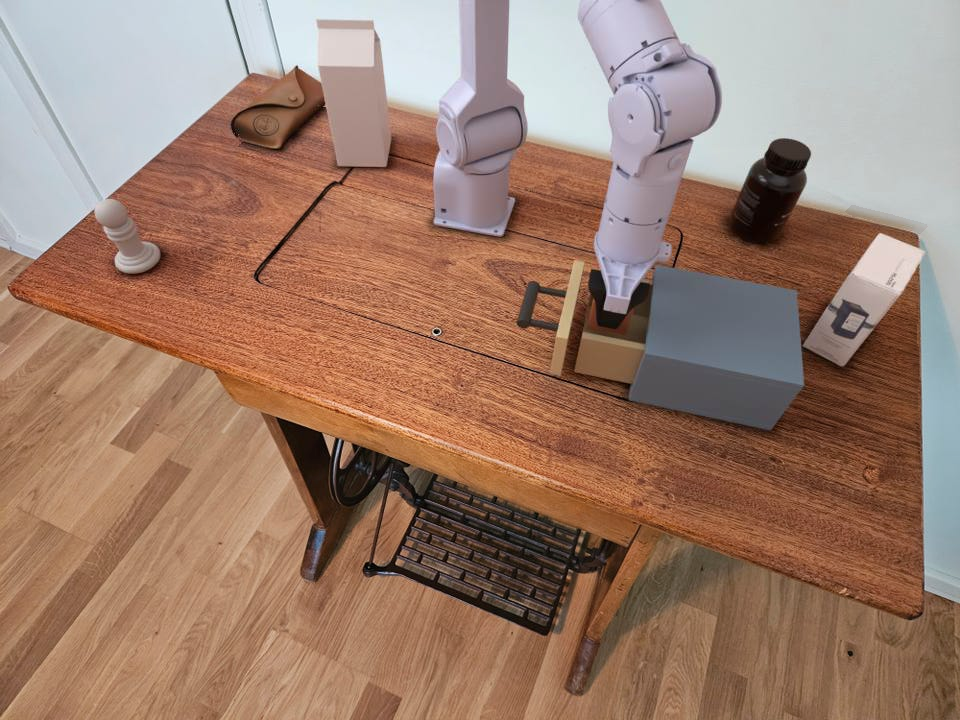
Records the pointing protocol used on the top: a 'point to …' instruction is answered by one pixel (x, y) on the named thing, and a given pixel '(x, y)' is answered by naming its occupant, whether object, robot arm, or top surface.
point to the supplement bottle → (770, 191)
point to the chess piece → (126, 238)
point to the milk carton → (354, 91)
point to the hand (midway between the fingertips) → (610, 309)
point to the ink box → (864, 298)
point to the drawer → (591, 333)
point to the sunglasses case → (279, 110)
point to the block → (593, 325)
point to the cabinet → (720, 348)
